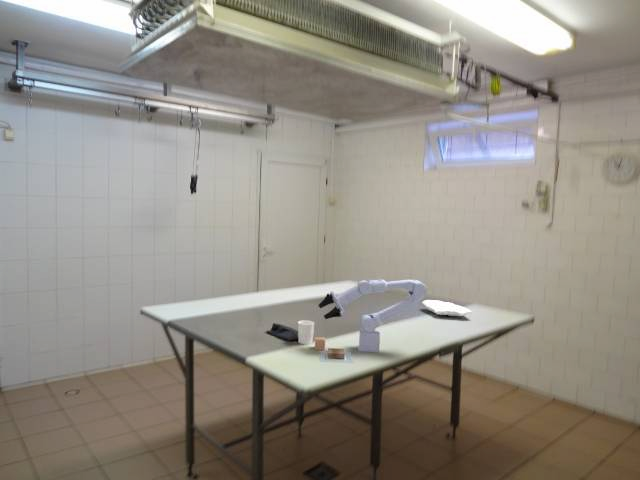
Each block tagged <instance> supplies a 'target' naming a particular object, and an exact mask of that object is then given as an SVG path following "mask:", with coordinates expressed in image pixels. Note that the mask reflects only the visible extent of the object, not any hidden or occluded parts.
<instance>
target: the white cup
mask: <svg viewBox="0 0 640 480" xmlns="http://www.w3.org/2000/svg"><path fill="white" fill-rule="evenodd" d="M314 329H315V321H312V320H307V319H306V320H303V319H302V320H299V321H297V331H298V340H297V341H298V343H299V344H303V345H310V344H312V343H313V341H314V331H315V330H314Z"/></svg>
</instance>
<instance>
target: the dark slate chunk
mask: <svg viewBox="0 0 640 480" xmlns="http://www.w3.org/2000/svg"><path fill="white" fill-rule="evenodd" d="M265 332H266V333H267V334H270V335H271V336H274V337H276V338H279V339H282V340H285V341H288V342H291V341H298V329H297V330H296V328H292V327H290V326H286V325H283V324H280V323H274V322H273V323H272V326H271V328H270V329H269V330H266V331H265Z"/></svg>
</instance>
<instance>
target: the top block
mask: <svg viewBox="0 0 640 480" xmlns="http://www.w3.org/2000/svg"><path fill="white" fill-rule="evenodd" d="M325 349H326V337H319V336H317V337H316V336H315V337H314V350H315V351H326V350H325Z"/></svg>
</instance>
